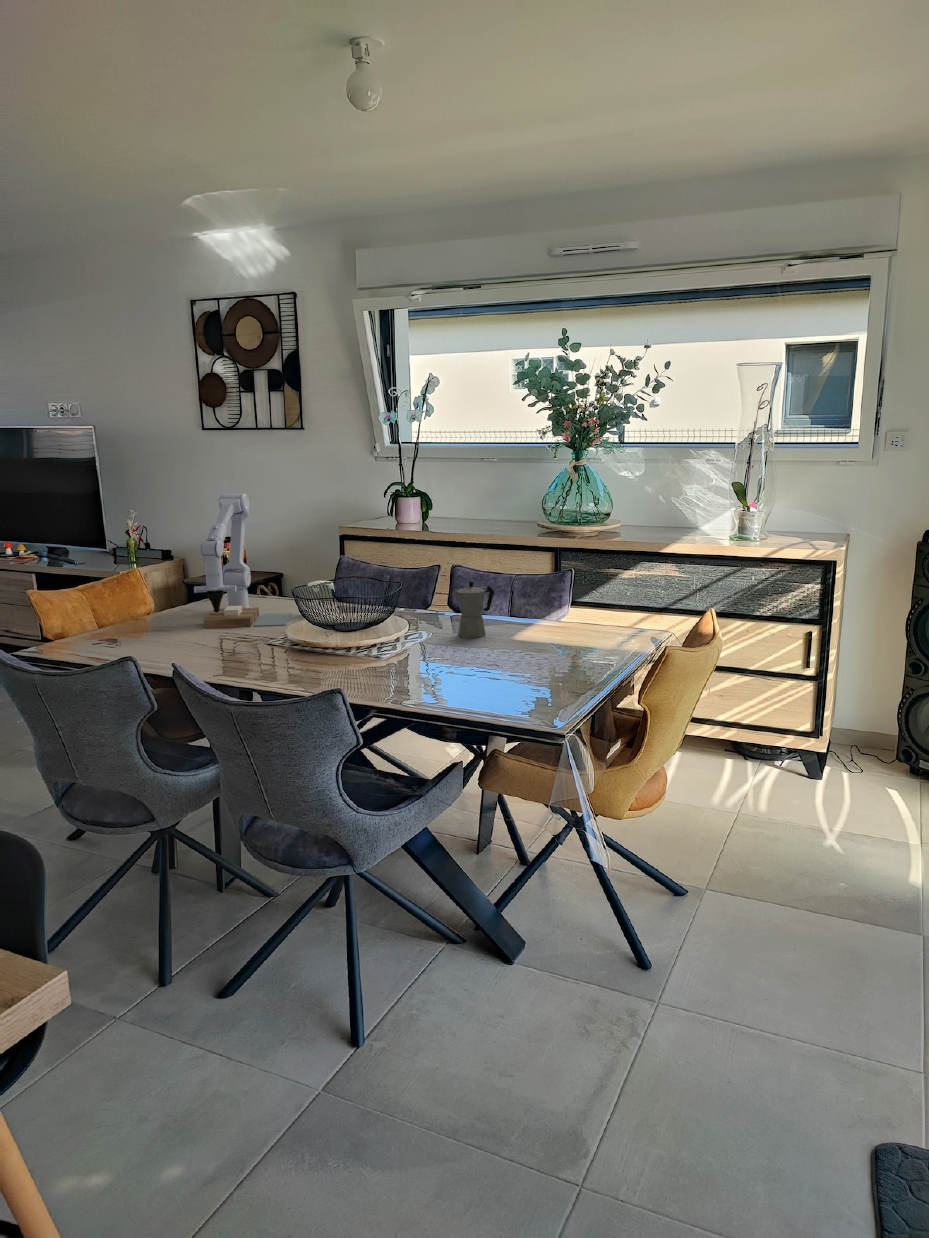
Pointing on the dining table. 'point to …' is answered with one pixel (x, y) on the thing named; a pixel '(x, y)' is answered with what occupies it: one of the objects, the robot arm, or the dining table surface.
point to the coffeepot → (473, 610)
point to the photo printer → (319, 583)
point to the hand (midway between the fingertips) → (217, 611)
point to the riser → (231, 618)
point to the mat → (273, 619)
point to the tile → (232, 610)
